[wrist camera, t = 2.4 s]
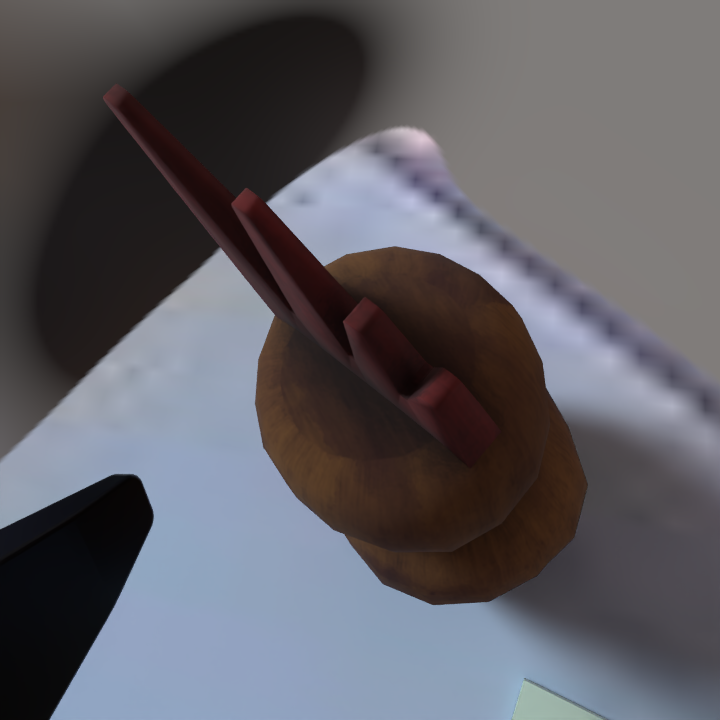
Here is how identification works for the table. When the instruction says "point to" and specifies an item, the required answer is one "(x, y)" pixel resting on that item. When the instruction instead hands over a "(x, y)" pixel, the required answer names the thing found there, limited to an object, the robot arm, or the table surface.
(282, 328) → the wooden figurine
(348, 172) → the table surface
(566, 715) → the felt mat
